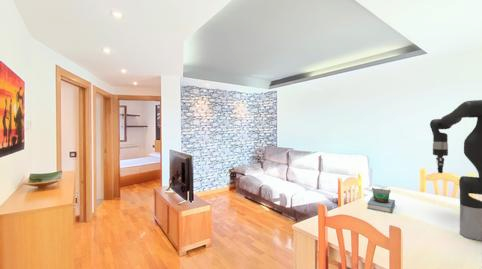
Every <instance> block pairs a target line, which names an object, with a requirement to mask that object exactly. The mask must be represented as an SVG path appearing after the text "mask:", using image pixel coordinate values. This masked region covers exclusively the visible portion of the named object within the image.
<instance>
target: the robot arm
mask: <svg viewBox="0 0 482 269" xmlns="http://www.w3.org/2000/svg"><path fill="white" fill-rule="evenodd" d="M463 118H473V119H474V118H476V124H475V126H474V128H473V130H472V131H471V132H470V133H468V134H467V136H466V137H465V139H464V142H463V153H464V155H465V157H466V158H467V160H469V161H470V163H471V164H472V166H474V167H475V169H476V171H477V173H478V176H464V175H463V176H460V178H459V180H458V183H459V184H458V185H459V187H458V188H459V234H460V235H461V236H463V237H464V238H466V239H471V240H476V241H478V242H479V241H480V242H482V200H480V199H477V198H475V197H473V196H470V194H472V195H482V99H476V100H474V99H473V100H466V101H464V102H462V103H461V104H459V106H457V107H456V108H455V109H454V110H452V111H451V112H450V113H447V114H446V115H444V116H442V117H441V118H436V119H432V120H430V123H429V127H430V129H431V130H430V131H432V132H431V133H432V136H433V137H432V138H433V140H432V141H433V143H432V155H434V156H436V158H435V160H436V165H437V173H438V174H443V172H444V171H443V170H444V165H445V157H447V156H448V155H449V144H448V134H447V133H445V132H441V131H440V130H448V129H451V128H452V126H454V125H456V124H458V123H460V122H461V120H462V119H463Z"/></svg>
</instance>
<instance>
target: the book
mask: <svg viewBox="0 0 482 269" xmlns="http://www.w3.org/2000/svg"><path fill="white" fill-rule="evenodd" d="M395 206H396V200H395V199H391V198H389V201H388V203H379V202H376V201H374V197H373V196H371V197H370V199H369V200H368V202H367V210H368V209H369V210H373V211H379V212H384V213H388V214H393V210H394V208H395Z"/></svg>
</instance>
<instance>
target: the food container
mask: <svg viewBox="0 0 482 269" xmlns="http://www.w3.org/2000/svg"><path fill="white" fill-rule="evenodd" d="M371 191H372V195H373V197H374V201H376V202H379V203H388V201H389V199H390V193H391V192H392V191H391V189H384V188H375V187H371Z"/></svg>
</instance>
